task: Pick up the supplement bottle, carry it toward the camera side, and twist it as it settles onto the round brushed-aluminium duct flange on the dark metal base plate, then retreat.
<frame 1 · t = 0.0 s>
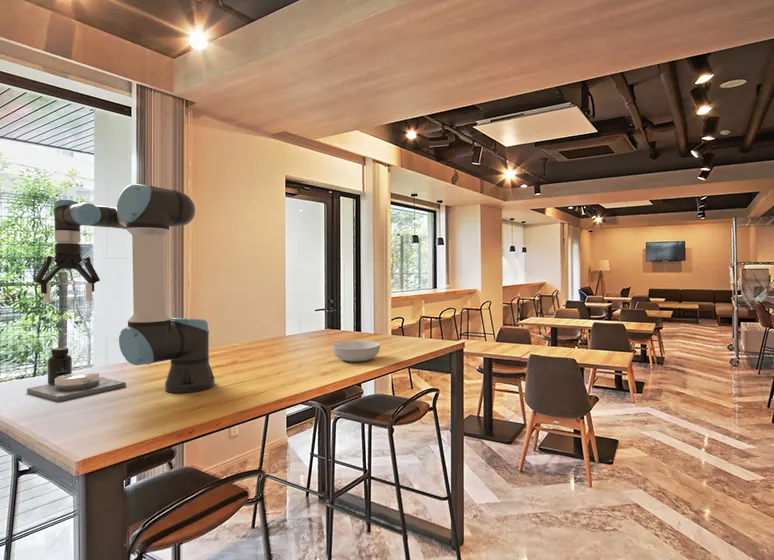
hand: (68, 302, 161), 28 cm above the table, fingers open, 13 cm apart
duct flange: (77, 389, 146), on the table
supplement bottle: (60, 383, 156), on the table
serving bowl: (356, 360, 193), on the table
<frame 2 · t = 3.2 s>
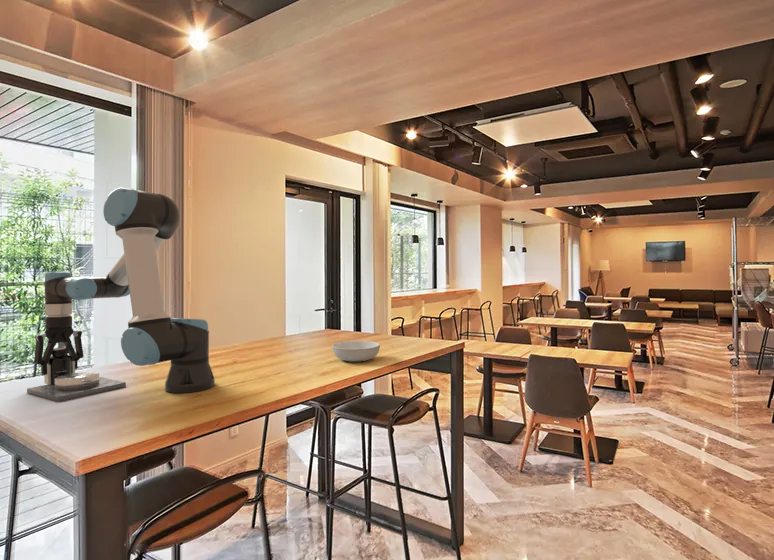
hand: (60, 381, 156), 1 cm above the table, fingers closed on supplement bottle, 7 cm apart
supplement bottle: (60, 383, 156), on the table, touching gripper
everything else where it was.
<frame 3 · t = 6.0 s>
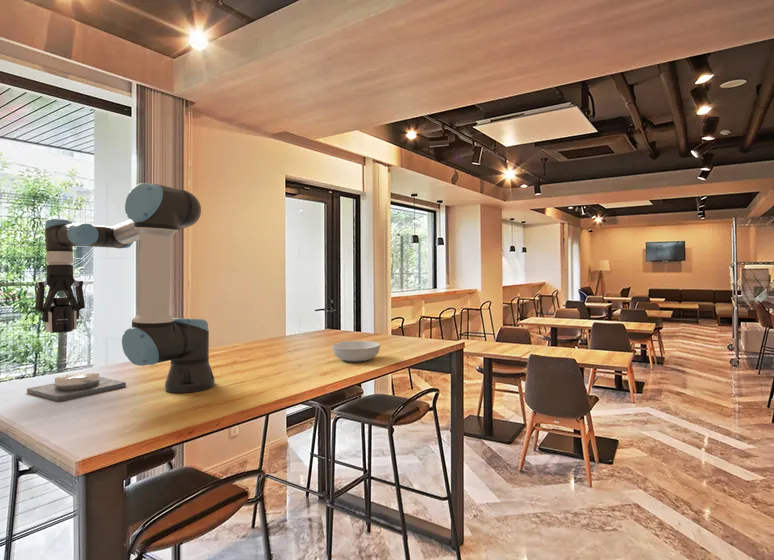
hand: (61, 330, 154), 19 cm above the table, fingers closed on supplement bottle, 7 cm apart
supplement bottle: (61, 332, 154), point 18 cm above the table, touching gripper
everything else where it was.
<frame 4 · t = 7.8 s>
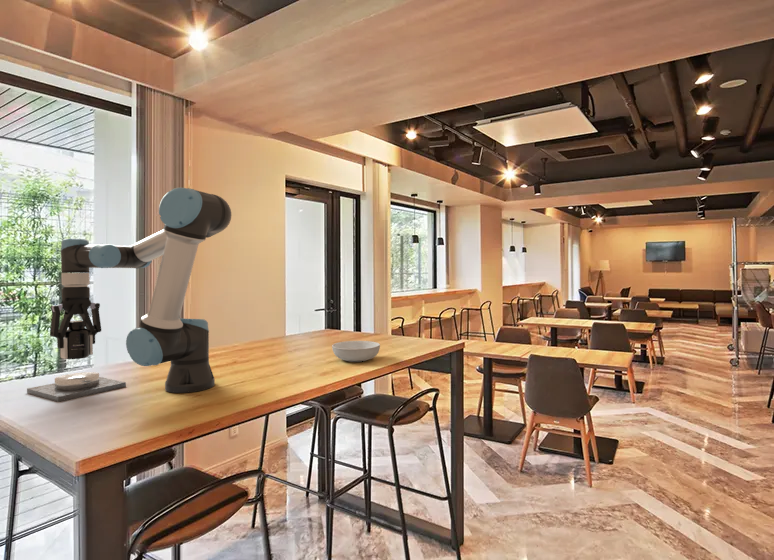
hand: (77, 356, 146), 11 cm above the table, fingers closed on supplement bottle, 7 cm apart
supplement bottle: (77, 358, 146), point 10 cm above the table, touching gripper
everything else where it was.
when the fingers open (6 cm above the table, at t = 9.2 s): supplement bottle drops 1 cm, resting on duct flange.
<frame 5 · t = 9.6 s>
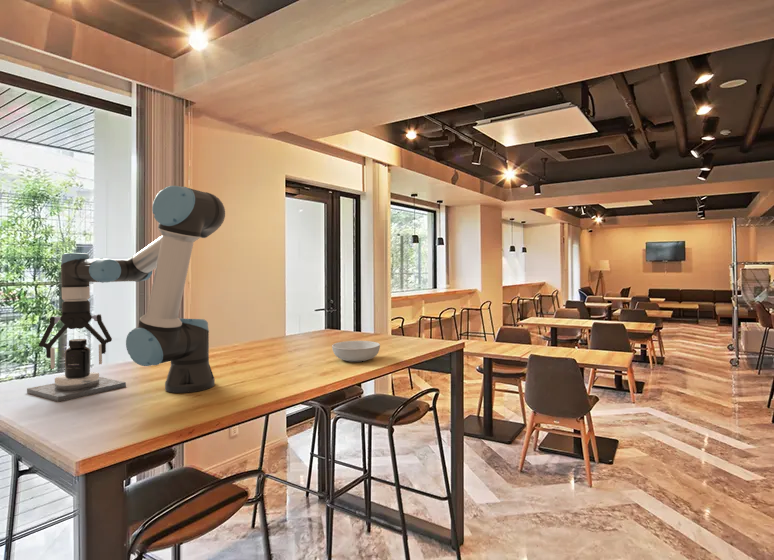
hand: (77, 365, 146), 8 cm above the table, fingers open, 12 cm apart
supplement bottle: (77, 376, 146), point 4 cm above the table, touching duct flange
everything else where it was.
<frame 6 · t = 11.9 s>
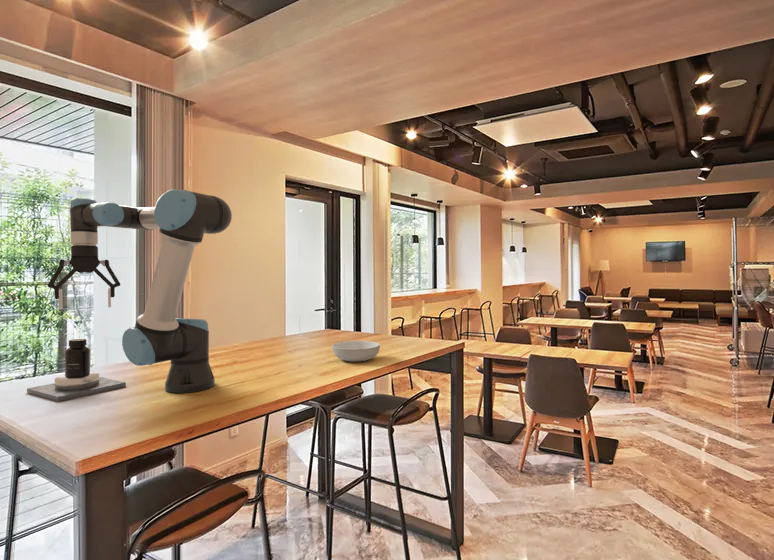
hand: (85, 308, 150), 26 cm above the table, fingers open, 13 cm apart
nothing on the table moved.
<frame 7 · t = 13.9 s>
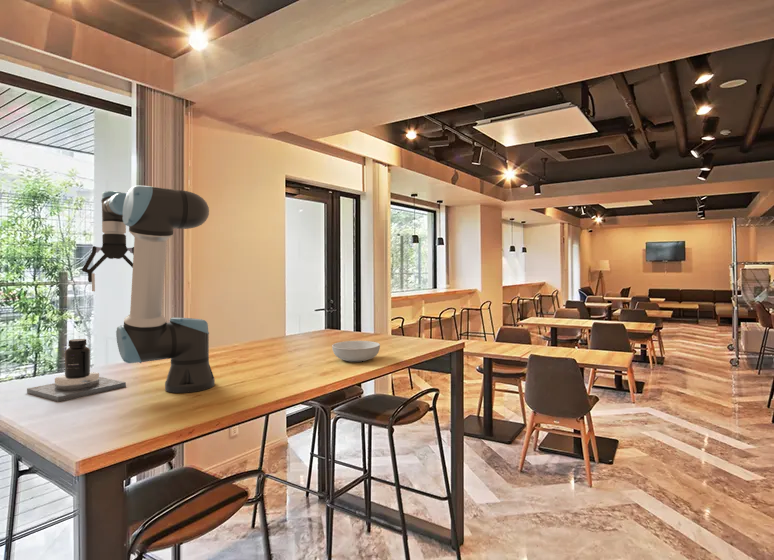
hand: (115, 290, 166), 32 cm above the table, fingers open, 13 cm apart
nothing on the table moved.
at the end: supplement bottle inside the target area on the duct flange (0.1 cm from its centre), point 4.3 cm above the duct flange's base; supplement bottle tilted 0°; the gripper is holding nothing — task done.
